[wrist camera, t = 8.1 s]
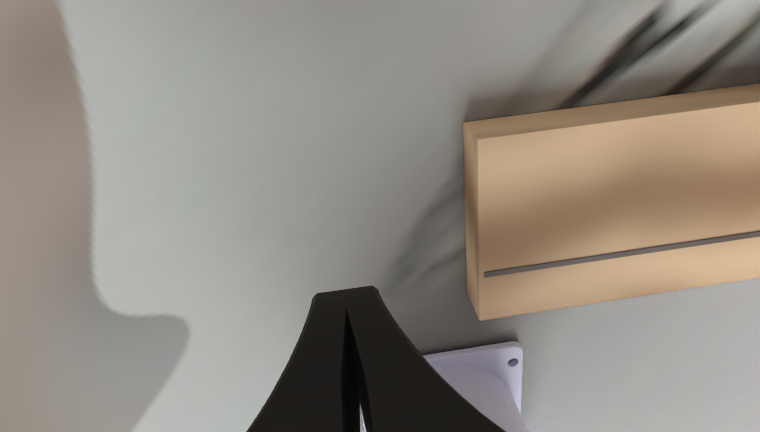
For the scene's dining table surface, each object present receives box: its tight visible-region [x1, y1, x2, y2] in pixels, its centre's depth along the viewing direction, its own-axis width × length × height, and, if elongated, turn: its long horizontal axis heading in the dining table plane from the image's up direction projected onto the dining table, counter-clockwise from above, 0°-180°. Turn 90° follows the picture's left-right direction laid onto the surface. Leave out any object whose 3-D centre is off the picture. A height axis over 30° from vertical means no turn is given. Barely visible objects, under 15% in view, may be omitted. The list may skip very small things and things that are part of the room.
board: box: [463, 83, 760, 321], centre depth 22 cm, size 8×21×2 cm, turn 95°
